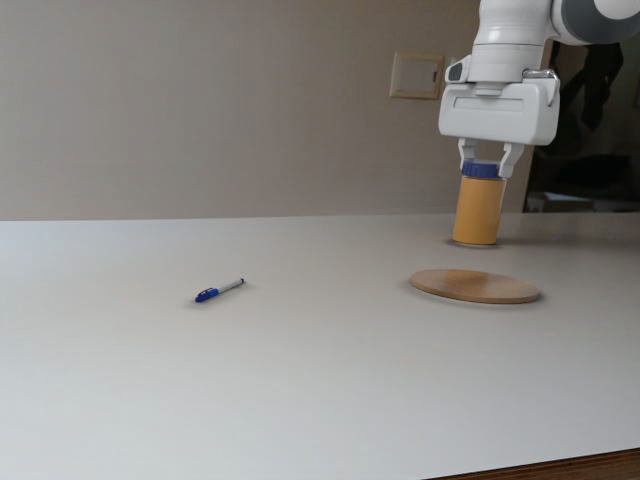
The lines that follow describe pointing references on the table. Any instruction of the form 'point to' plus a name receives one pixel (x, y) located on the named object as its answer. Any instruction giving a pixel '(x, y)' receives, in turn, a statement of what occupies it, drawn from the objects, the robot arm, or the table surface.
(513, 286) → the coaster
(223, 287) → the ballpoint pen
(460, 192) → the jar
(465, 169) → the lid
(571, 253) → the table surface
